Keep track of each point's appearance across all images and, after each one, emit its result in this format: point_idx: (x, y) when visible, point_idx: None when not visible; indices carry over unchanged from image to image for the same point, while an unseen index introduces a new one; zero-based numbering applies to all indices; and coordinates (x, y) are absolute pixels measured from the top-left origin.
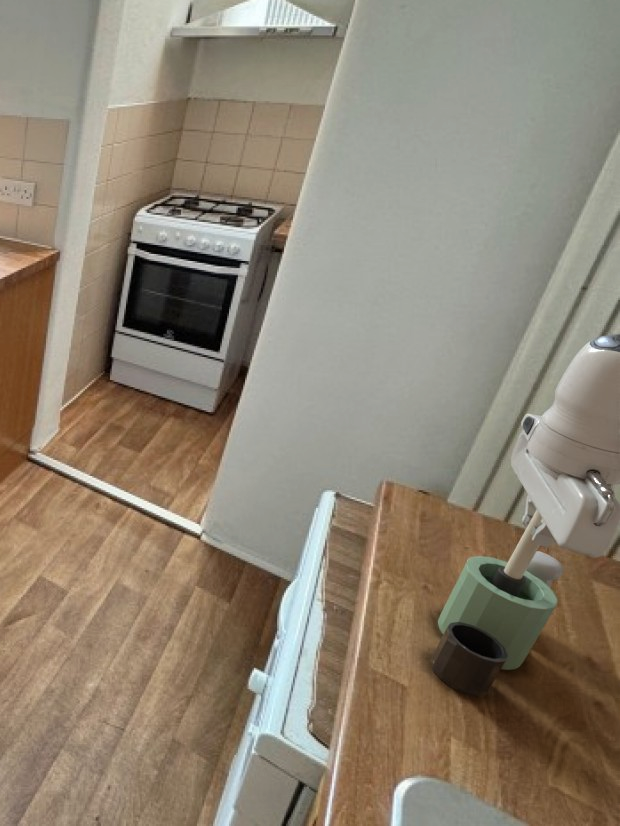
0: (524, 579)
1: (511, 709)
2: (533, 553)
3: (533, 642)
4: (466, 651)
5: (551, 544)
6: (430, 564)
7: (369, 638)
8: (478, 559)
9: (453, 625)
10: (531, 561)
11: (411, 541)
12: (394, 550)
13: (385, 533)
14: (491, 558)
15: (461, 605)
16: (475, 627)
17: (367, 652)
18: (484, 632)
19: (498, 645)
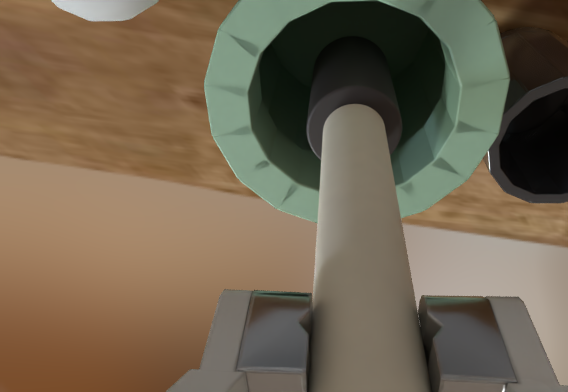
0: (363, 92)
1: None
2: (399, 215)
3: None
4: None
5: (524, 316)
6: (78, 74)
7: (470, 229)
8: (263, 183)
9: (515, 188)
10: (141, 2)
11: (8, 104)
12: (90, 147)
13: (29, 158)
14: (223, 141)
15: None
16: (497, 137)
17: (517, 236)
18: (510, 118)
19: (554, 90)
